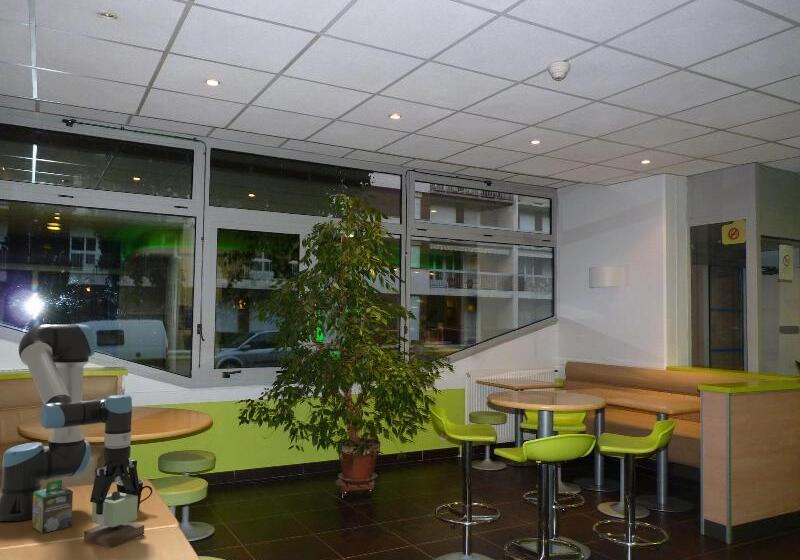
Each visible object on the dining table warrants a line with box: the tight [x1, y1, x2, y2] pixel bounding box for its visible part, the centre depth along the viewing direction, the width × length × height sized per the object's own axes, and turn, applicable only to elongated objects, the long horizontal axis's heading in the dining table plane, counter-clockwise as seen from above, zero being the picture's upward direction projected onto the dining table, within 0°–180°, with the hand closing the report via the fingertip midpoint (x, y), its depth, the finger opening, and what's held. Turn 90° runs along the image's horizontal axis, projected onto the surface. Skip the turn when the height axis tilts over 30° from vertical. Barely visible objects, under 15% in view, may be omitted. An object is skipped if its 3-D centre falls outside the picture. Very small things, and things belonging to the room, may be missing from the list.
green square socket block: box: [91, 492, 138, 527], centre depth 196 cm, size 9×9×7 cm
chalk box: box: [31, 479, 74, 534], centre depth 205 cm, size 9×9×15 cm
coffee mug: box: [116, 478, 153, 512], centre depth 221 cm, size 12×9×10 cm
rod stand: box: [83, 490, 145, 548], centre depth 195 cm, size 12×12×14 cm
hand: (114, 520), depth 195 cm, fingers closed on green square socket block, 9 cm apart
